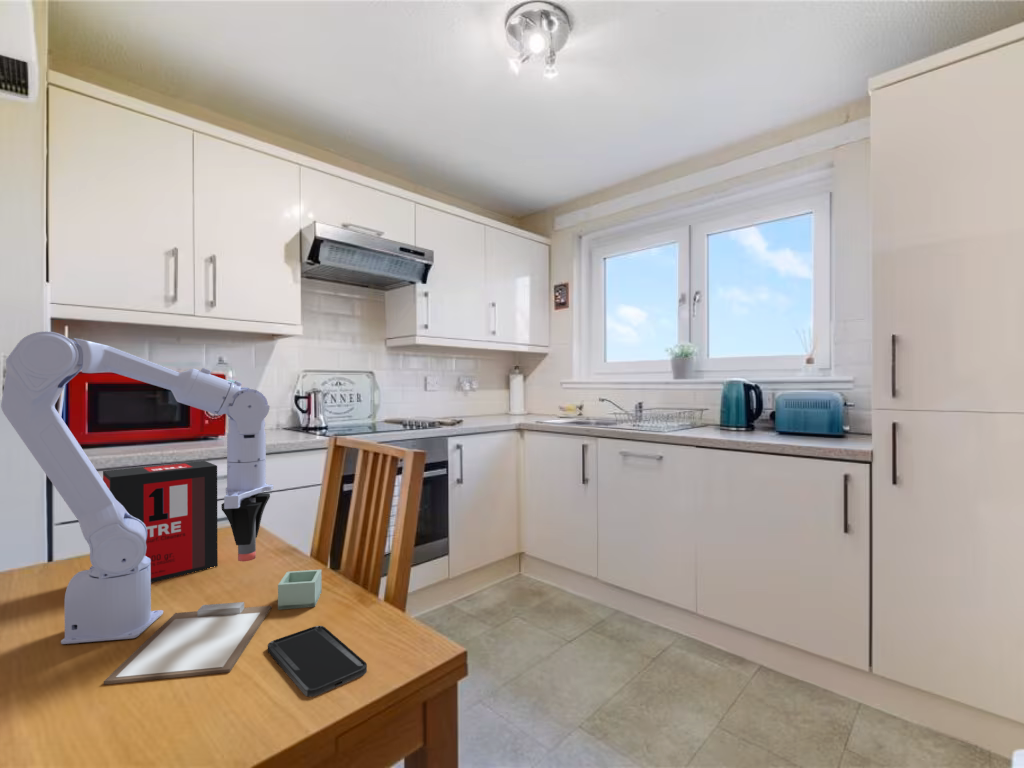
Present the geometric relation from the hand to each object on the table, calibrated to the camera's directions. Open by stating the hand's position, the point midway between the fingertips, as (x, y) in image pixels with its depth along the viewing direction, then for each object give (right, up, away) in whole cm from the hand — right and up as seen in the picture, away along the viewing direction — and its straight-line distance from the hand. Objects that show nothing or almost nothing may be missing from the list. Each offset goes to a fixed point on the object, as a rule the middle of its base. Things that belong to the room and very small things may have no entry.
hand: (246, 541), depth 83 cm
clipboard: (0, -10, -13) cm, 16 cm away
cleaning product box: (-23, -10, +12) cm, 28 cm away
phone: (+19, -11, -18) cm, 28 cm away
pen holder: (+9, -10, 0) cm, 13 cm away
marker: (0, -3, 0) cm, 3 cm away
